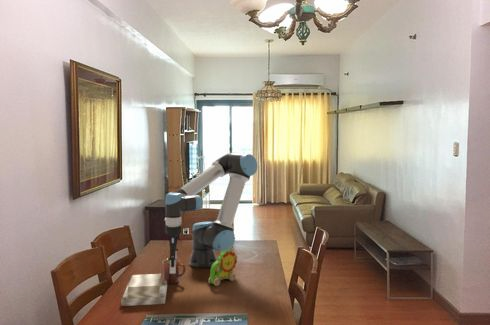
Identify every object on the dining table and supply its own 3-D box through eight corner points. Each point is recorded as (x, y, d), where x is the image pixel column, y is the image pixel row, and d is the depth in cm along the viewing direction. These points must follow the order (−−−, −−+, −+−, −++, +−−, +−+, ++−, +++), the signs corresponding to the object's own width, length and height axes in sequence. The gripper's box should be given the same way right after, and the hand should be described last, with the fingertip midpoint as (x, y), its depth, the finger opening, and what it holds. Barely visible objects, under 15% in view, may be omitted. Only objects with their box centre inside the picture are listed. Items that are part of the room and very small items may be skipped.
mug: (158, 284, 202) (158, 263, 201) (167, 278, 210) (167, 257, 209) (181, 287, 198) (180, 265, 197) (189, 280, 206) (189, 260, 205)
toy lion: (215, 287, 198) (214, 255, 196) (207, 284, 202) (207, 253, 200) (239, 278, 209) (239, 249, 208) (231, 276, 213) (231, 246, 211)
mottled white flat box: (167, 288, 197) (166, 272, 196) (164, 303, 179) (164, 286, 178) (127, 289, 194) (127, 274, 194) (121, 306, 177) (121, 288, 176)
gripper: (166, 220, 214) (166, 261, 215) (163, 231, 189) (163, 277, 190) (181, 220, 215) (181, 260, 216) (180, 231, 190) (180, 277, 191)
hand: (173, 268), depth 203 cm, fingers open, 13 cm apart
